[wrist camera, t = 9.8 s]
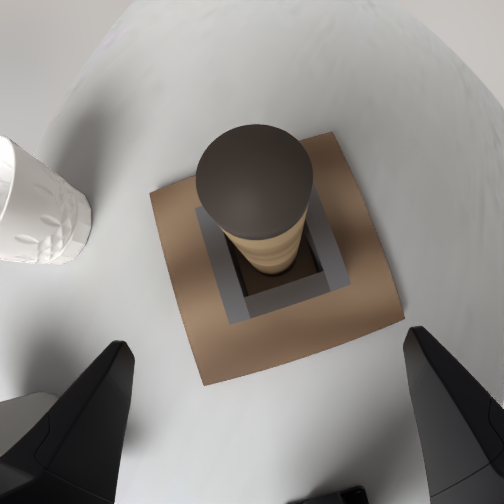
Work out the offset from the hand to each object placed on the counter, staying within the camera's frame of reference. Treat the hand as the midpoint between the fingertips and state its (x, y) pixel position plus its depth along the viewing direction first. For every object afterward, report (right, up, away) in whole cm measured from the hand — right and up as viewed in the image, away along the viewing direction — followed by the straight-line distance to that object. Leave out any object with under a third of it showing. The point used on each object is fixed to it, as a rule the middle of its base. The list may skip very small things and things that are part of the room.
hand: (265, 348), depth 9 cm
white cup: (-17, +5, +15) cm, 23 cm away
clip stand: (+1, +3, +12) cm, 13 cm away
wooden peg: (+1, +3, +11) cm, 12 cm away
